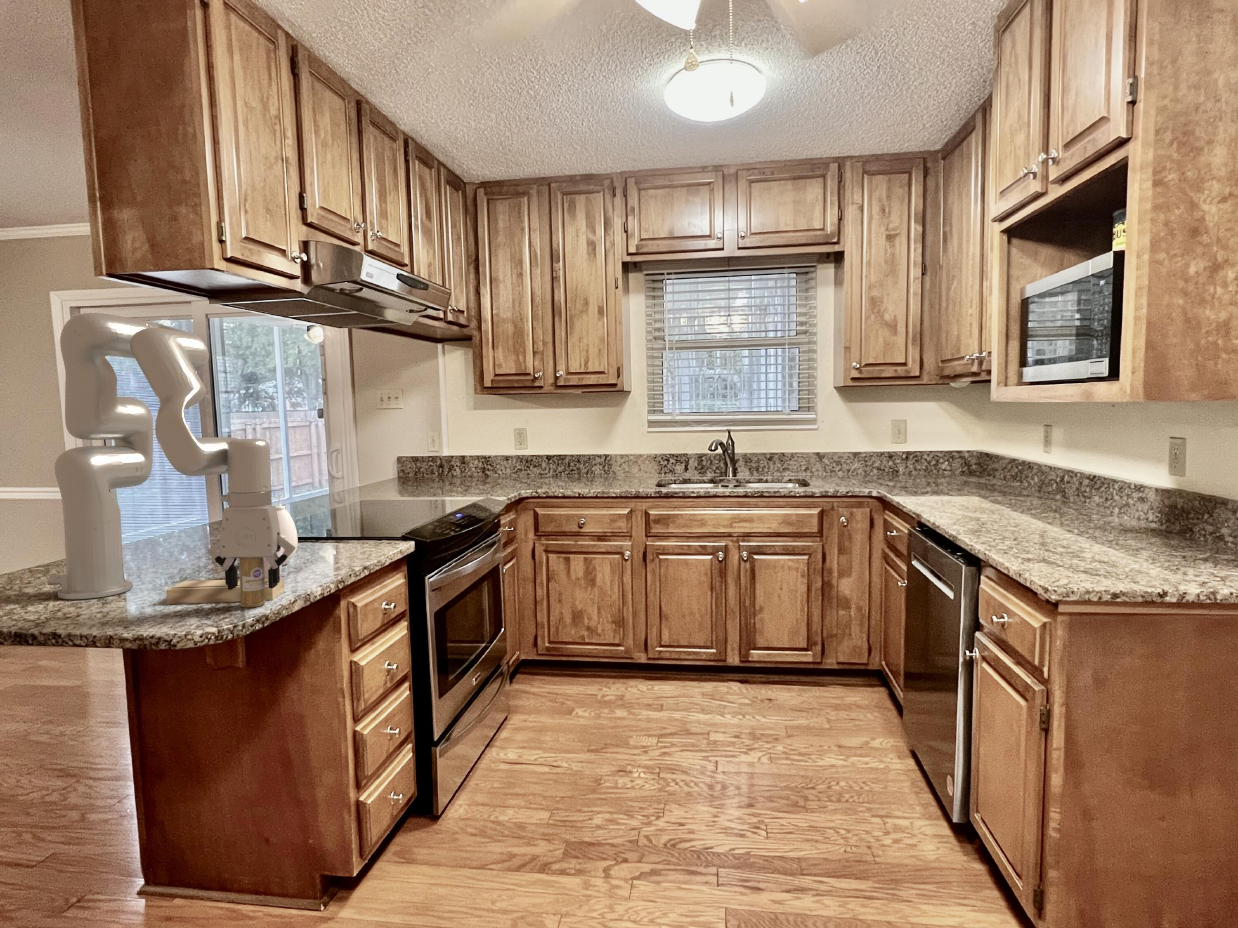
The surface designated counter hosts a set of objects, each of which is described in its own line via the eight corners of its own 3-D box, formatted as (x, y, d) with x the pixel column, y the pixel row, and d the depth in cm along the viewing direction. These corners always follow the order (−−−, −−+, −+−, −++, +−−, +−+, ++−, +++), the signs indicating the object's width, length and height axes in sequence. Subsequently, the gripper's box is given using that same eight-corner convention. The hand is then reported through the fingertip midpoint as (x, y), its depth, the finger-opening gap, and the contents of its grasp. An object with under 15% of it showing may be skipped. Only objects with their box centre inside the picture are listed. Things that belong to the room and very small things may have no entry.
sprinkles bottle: (251, 609, 129) (249, 542, 128) (234, 606, 130) (232, 540, 129) (271, 603, 133) (269, 538, 132) (254, 600, 134) (252, 536, 134)
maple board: (166, 604, 132) (166, 589, 131) (183, 594, 139) (183, 580, 138) (272, 600, 135) (272, 585, 135) (284, 591, 142) (283, 577, 142)
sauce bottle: (262, 569, 163) (260, 498, 162) (265, 563, 170) (263, 494, 169) (297, 566, 166) (295, 496, 165) (298, 560, 173) (297, 493, 172)
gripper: (194, 503, 125) (197, 594, 126) (290, 501, 128) (293, 590, 129) (211, 498, 132) (214, 584, 133) (302, 497, 135) (304, 581, 136)
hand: (253, 586), depth 131 cm, fingers open, 7 cm apart
